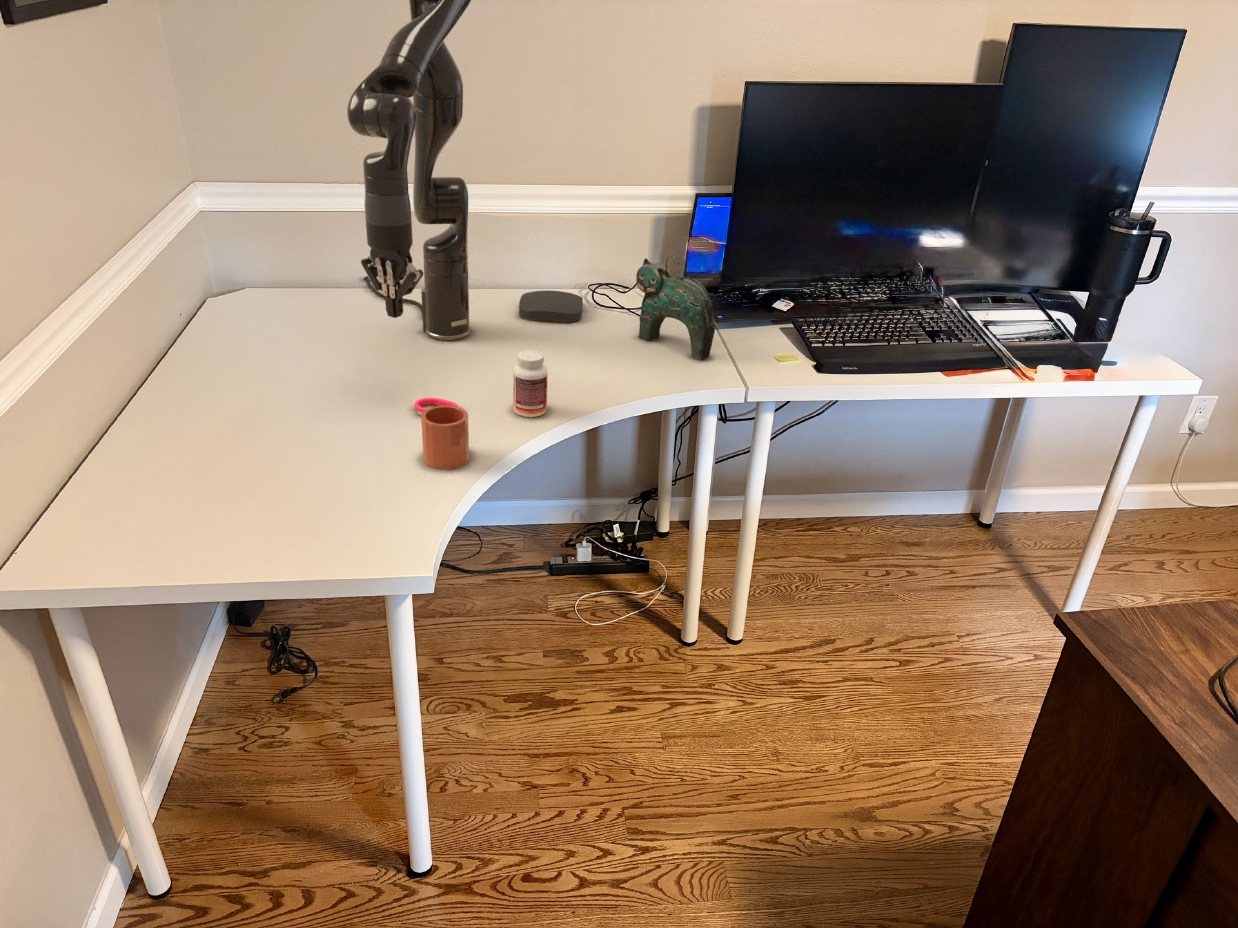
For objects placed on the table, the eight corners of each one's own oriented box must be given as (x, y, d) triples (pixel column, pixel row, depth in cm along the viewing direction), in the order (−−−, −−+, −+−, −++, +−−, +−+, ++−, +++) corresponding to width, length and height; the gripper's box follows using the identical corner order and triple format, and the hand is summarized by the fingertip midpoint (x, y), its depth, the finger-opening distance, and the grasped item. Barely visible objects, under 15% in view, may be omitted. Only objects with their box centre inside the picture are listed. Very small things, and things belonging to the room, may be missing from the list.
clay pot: (414, 460, 149) (411, 416, 145) (444, 443, 155) (442, 401, 151) (448, 474, 146) (446, 430, 142) (478, 456, 151) (477, 413, 147)
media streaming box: (580, 324, 208) (581, 312, 206) (516, 320, 208) (516, 308, 206) (583, 303, 221) (583, 291, 219) (523, 299, 220) (523, 287, 219)
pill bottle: (552, 414, 167) (554, 358, 161) (523, 421, 164) (523, 364, 158) (536, 401, 171) (537, 346, 166) (507, 407, 168) (507, 352, 163)
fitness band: (408, 413, 164) (407, 405, 163) (426, 400, 169) (425, 393, 168) (447, 422, 161) (446, 415, 161) (464, 410, 166) (463, 402, 165)
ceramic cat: (629, 336, 203) (635, 248, 193) (648, 330, 207) (655, 243, 198) (699, 363, 192) (709, 272, 182) (717, 356, 196) (728, 266, 186)
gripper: (433, 221, 152) (437, 319, 161) (376, 207, 158) (382, 302, 167) (401, 230, 147) (407, 330, 155) (343, 215, 153) (352, 313, 161)
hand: (394, 316), depth 161 cm, fingers closed
